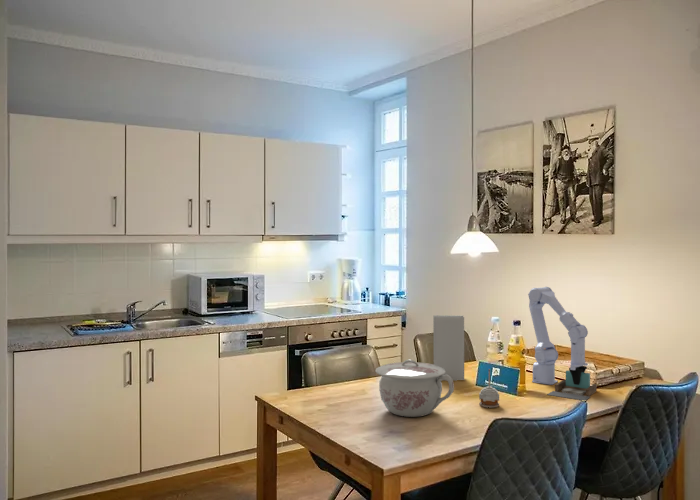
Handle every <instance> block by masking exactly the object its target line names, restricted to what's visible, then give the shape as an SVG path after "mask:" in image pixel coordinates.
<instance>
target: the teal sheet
mask: <svg viewBox="0 0 700 500" xmlns="http://www.w3.org/2000/svg"><path fill="white" fill-rule="evenodd" d="M565 380H566V386H571V387H578V388H585V389H587V388H589V387H590V386H591V373H590V372H582V373H581V377H580V383H579V385H576V384H574V382H573V378H572V375H571V372H570V371H569V369H568V370H566V371H565Z"/></svg>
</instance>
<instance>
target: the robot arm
mask: <svg viewBox="0 0 700 500" xmlns="http://www.w3.org/2000/svg"><path fill="white" fill-rule="evenodd" d="M555 293H556V292H554V291H553V290H552V288H551V287H549V286H544V287H533V288H531V289H530V291H529V292H528V294H527V295H528V298H529V299H528V300H529V302H528V309H529V312H530V316H531V321H532V325H533V328H534V333H535V337H536V342H537V343H536V346H535V347H534V359H535V362H534V363H533V365H532V381H531V382H532V383H536V384H541V385H551V386H552V385H555V384H557V383H559V382H558V380H557V379H556V377H555V376H556V375H555V374H556V372H555V369H556V368H555V366H556V365H555V364H556V363H557V360H558V358H559V352H558V350H557V348H556V347H555V345H554V343H552V341H550V337H549V332H548V328H547V323H546V320H545V315H544V311H543V307H544V306H545V304H547V305H548V306H550V308H551V309H552V310H553V311H554V312H555V313H556V314H557V315H558V316H559V322H561V324H562V325H563V326H564V327H565V329H566V330H567V331H568V332H567V334H568V336H569V339H570V364H569V365H570V366H569V368H568V371H570V372H571V375H572V378H573V382H574V384H576V385H579V383H580V377H581V373H582V372H584V373H586V370H587V368H588V367H587V366H588V365H589V364H588V363H586V337H588V334H589V331H588V328H587V327H586V325H584V324H581V323H580V322H579V321H578V320H577V318H575V316H574V314H573V312H571V311H566V309H565V308H564V307H563V306H562V304H561V303H560V301H559V300H558V298H557V297H556V295H555Z"/></svg>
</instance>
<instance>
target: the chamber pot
mask: <svg viewBox="0 0 700 500" xmlns="http://www.w3.org/2000/svg"><path fill="white" fill-rule="evenodd" d="M445 372H446V371H445V369H443V368H442V367H440V366H436V365H434V363H426V362H417V361H415V360H412V359H406V360H404V361H401V362H398V361H397V362H391V363H387V364H383V365H380V366H377V367H376V368H375V373H376V374H377V375H378V376H381V377H380V380H379V382H378V383H379V384H378V385H379V388H378V389H379V395H380V399H381V401H382V403H383V405H384V406H385V408H386V409H387V410H388V411H389V412H390V413H391V414H394V415H397V416H399V417H403V416H404V417H405V418H418V417H423V416H427V415H429V414H431V413H432V412H433V411H435V409H437V407H438V406H439V405H440V404H441V403H442V402H443V401H445V400H447V399H449V398H450V397H451V395H452V394H453V392H454V390H455V385H454V383H455V382H454V380H452V379H451V377H450V376H448V375H447V374H446V375H444V376H442V375H443V374H444V373H445ZM439 376H440V377H439ZM442 381H446V382H448V392H447V393H446V394H445V395H444V396H442V393H443V383H442ZM441 396H442V397H441Z"/></svg>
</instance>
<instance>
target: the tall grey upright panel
mask: <svg viewBox="0 0 700 500" xmlns="http://www.w3.org/2000/svg"><path fill="white" fill-rule="evenodd" d="M432 325H433V328H432V329H433V365H436V366H440V367H442V368H443V369H445V371H446V372H445V373H444V374H443V375H442V376H444V375H446V374H447V375H448V376H450V377H451V379H452V380H453V381H457V380H464V381H465V317H464V315H433V324H432ZM439 377H440V376H439Z"/></svg>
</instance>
